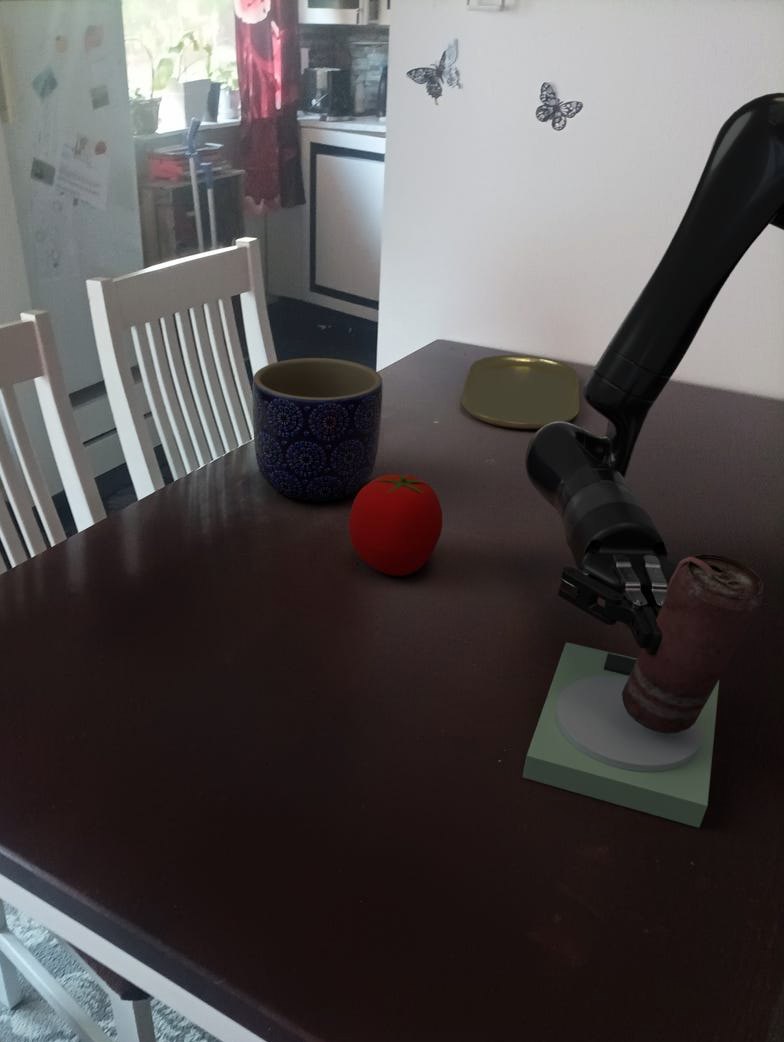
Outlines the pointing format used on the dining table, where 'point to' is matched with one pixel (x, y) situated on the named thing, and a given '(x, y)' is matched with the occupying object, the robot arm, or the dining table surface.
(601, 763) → the scale
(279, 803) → the dining table surface
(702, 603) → the can
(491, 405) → the serving platter
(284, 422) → the planter
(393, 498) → the tomato
